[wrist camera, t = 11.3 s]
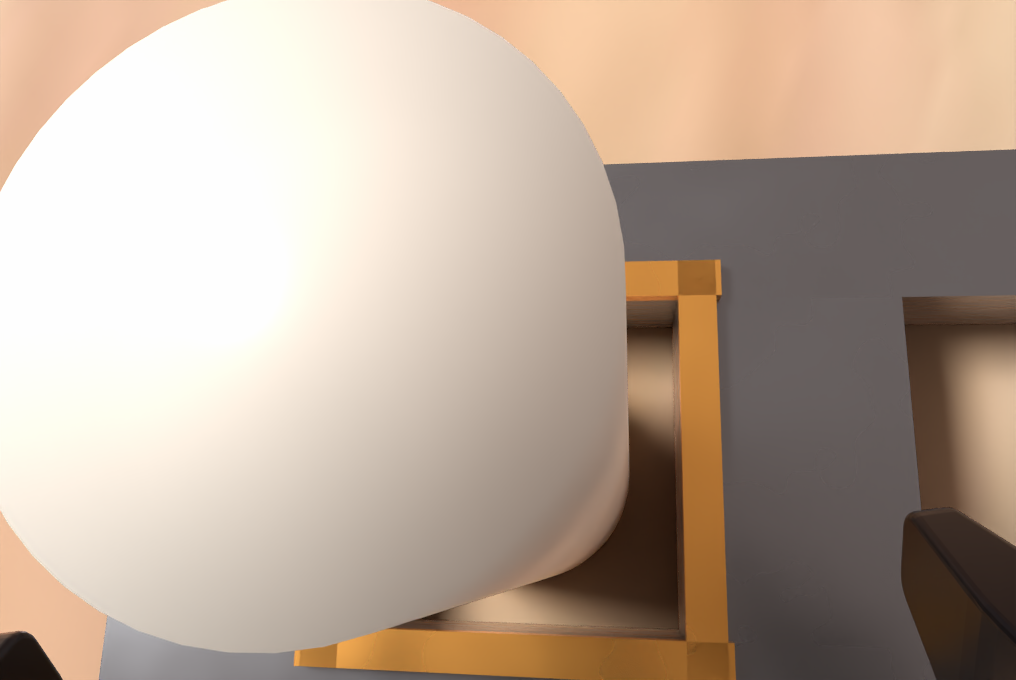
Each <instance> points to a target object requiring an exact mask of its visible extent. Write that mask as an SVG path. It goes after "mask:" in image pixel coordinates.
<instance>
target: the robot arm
mask: <svg viewBox="0 0 1016 680" xmlns="http://www.w3.org/2000/svg"><path fill="white" fill-rule="evenodd" d="M901 582H902V588H903V592H904V595H905V598H906V601H907V604H908V607H909V609H910V612H911V615H912V617H913V620H914V622H915V625H916V628H917V630H918V633H919V635H920V638H921V641H922V643H923V646H924V649H925V651H926V654H927V656H928V659H929V662H930V664H931V667H932V670H933V672H934V675H935V677H936V680H1016V547H1015V546H1014V545H1012V544H1011V543H1009V542H1007V541H1006V540H1004V539H1003V538H1001V537H1000V536H998V535H996V534H995V533H993V532H992V531H990V530H988V529H987V528H985V527H984V526H982V525H981V524H979V523H977V522H976V521H974V520H973V519H971V518H969V517H968V516H966V515H965V514H963V513H962V512H960V511H958V510H956V509H953V508H950V507H942V508H934V509H927V510H919V511H913V512H911V513H909V514H908V515H907V516H906V518H905V520H904V525H903V541H902V559H901ZM0 680H63V679H62V677H61V676H60V674H59V673H58V671H57V670H56V668H55V667H54V665H53V664H52V662H51V661H50V659H49V658H48V656H47V655H46V653H45V652H44V651H43V649H42V648H41V646H40V645H39V643H38V642H37V640H36V639H35V638H34V637H33V635H31V634H29V633H27V632H25V631H15V632H8V633H0Z"/></svg>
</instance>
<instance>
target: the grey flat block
mask: <svg viewBox="0 0 1016 680" xmlns="http://www.w3.org/2000/svg"><path fill="white" fill-rule="evenodd" d="M604 168H605V171H606V174H607V177H608V180H609V183H610V186H611V189H612V192H613V195H614V198H615V201H616V205H617V210H618V216H619V221H620V227H621V232H622V238H623V243H624V256H625V281H626V321H627V327H672V335H673V382H674V428H675V474H676V521H677V567H678V613H679V630H672V629H647V628H622V627H596V626H571V625H546V624H521V623H495V622H470V621H445V620H419V619H416V620H413V621H410V622H407V623H403V624H400V625H397V626H394V627H391V628H388V629H384V630H381V631H378V632H375V633H372V634H368V635H365V636H361V637H357V638H354V639H350V640H347V641H343V642H339V643H336V644H332V645H329V646H325V647H319V648H311V649H303V650H296V651H288V652H281V653H228V652H222V651H215V650H209V649H203V648H197V647H191V646H185V645H180V644H177V643H174V642H171V641H168V640H165V639H162V638H159V637H155V636H152V635H149V634H146V633H143V632H140V631H137V630H135V629H133V628H132V627H130V626H128V625H126V624H124V623H122V622H120V621H118V620H116V619H114V618H112V617H110V616H108V615H107V623H106V630H105V637H104V645H103V652H102V659H101V667H100V674H99V680H936V677H935V675H934V672H933V670H932V667H931V664H930V662H929V659H928V656H927V654H926V651H925V649H924V646H923V643H922V641H921V638H920V635H919V633H918V630H917V628H916V625H915V622H914V620H913V617H912V615H911V612H910V609H909V607H908V604H907V601H906V598H905V595H904V592H903V588H902V582H901V559H902V541H903V525H904V520H905V518H906V516H907V515H908V514H909V513H911V512H913V511H919V510H921V501H920V490H919V479H918V468H917V457H916V446H915V435H914V424H913V413H912V402H911V391H910V380H909V369H908V358H907V347H906V336H905V325H925V324H1016V150H989V151H961V152H934V153H907V154H880V155H853V156H825V157H798V158H771V159H744V160H716V161H689V162H662V163H635V164H607V165H604Z"/></svg>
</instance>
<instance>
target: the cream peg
mask: <svg viewBox="0 0 1016 680" xmlns="http://www.w3.org/2000/svg"><path fill="white" fill-rule="evenodd" d="M629 478H630V473H629V422H628V372H627V321H626V281H625V256H624V243H623V238H622V232H621V227H620V221H619V216H618V210H617V205H616V201H615V198H614V195H613V192H612V189H611V186H610V183H609V180H608V177H607V174H606V171H605V168H604V165H603V162H602V160H601V158H600V156H599V154H598V152H597V150H596V148H595V146H594V144H593V142H592V140H591V138H590V136H589V134H588V132H587V130H586V128H585V126H584V124H583V123H582V122H581V120H580V119H579V117H578V116H577V114H576V113H575V112H574V110H573V109H572V107H571V106H570V104H569V103H568V102H567V100H566V99H565V97H564V96H563V94H562V93H561V92H560V90H559V89H558V88H557V87H556V86H555V85H554V84H553V83H552V82H551V81H550V80H549V79H548V78H547V76H546V75H545V74H544V73H543V72H542V71H541V70H540V69H539V68H538V67H537V66H536V65H535V64H534V63H533V62H532V61H531V60H530V59H529V58H527V57H526V56H525V55H524V54H522V53H521V52H520V51H519V50H517V49H516V48H515V47H514V46H512V45H511V44H510V43H509V42H507V41H506V40H505V39H504V38H502V37H501V36H499V35H498V34H496V33H494V32H493V31H491V30H489V29H488V28H486V27H484V26H483V25H481V24H479V23H478V22H476V21H474V20H472V19H471V18H469V17H467V16H465V15H463V14H460V13H458V12H455V11H453V10H451V9H448V8H446V7H444V6H441V5H439V4H437V3H434V2H432V1H428V0H228V1H225V2H222V3H219V4H216V5H213V6H210V7H207V8H204V9H201V10H198V11H196V12H194V13H192V14H190V15H188V16H185V17H183V18H181V19H179V20H177V21H175V22H173V23H170V24H168V25H166V26H164V27H162V28H160V29H159V30H157V31H155V32H154V33H152V34H150V35H149V36H147V37H145V38H144V39H142V40H140V41H139V42H137V43H135V44H134V45H132V46H130V47H129V48H127V49H126V50H125V51H123V52H122V53H121V54H119V55H118V56H117V57H115V58H114V59H113V60H111V61H110V62H109V63H108V64H106V65H105V66H104V67H102V68H101V69H100V70H98V71H97V72H96V73H95V74H93V75H92V76H91V77H90V78H89V79H88V80H87V81H86V82H85V83H84V84H83V85H82V86H81V87H80V88H79V89H77V90H76V91H75V92H74V93H73V94H72V95H71V96H70V97H69V98H68V99H67V100H66V101H65V102H64V103H63V104H62V105H61V106H60V108H59V109H58V110H57V111H56V112H55V113H54V115H53V116H52V117H51V118H50V119H49V120H48V121H47V123H46V124H45V125H44V126H43V127H42V128H41V130H40V131H39V132H38V133H37V135H36V136H35V138H34V139H33V140H32V142H31V143H30V145H29V146H28V148H27V149H26V151H25V152H24V153H23V155H22V156H21V158H20V159H19V161H18V162H17V163H16V165H15V166H14V168H13V170H12V172H11V174H10V176H9V177H8V179H7V181H6V183H5V185H4V187H3V188H2V190H1V192H0V510H1V512H2V514H3V516H4V518H5V519H6V521H7V523H8V524H9V525H10V527H11V528H12V529H13V531H14V532H15V533H16V535H17V536H18V537H19V539H20V540H21V541H22V543H23V544H24V545H25V547H26V548H27V549H28V550H29V552H30V553H31V554H32V556H33V557H34V558H35V559H36V560H37V561H38V562H39V563H40V564H41V565H42V566H44V567H45V568H46V569H47V570H48V571H49V572H50V573H51V574H52V575H53V576H54V577H55V578H56V579H57V580H58V581H59V582H60V583H61V584H62V585H63V586H64V587H66V588H67V589H69V590H70V591H71V592H73V593H74V594H76V595H77V596H78V597H80V598H81V599H83V600H84V601H85V602H87V603H88V604H90V605H91V606H92V607H94V608H95V609H97V610H98V611H100V612H102V613H104V614H106V615H108V616H110V617H112V618H114V619H116V620H118V621H120V622H122V623H124V624H126V625H128V626H130V627H132V628H133V629H135V630H137V631H140V632H143V633H146V634H149V635H152V636H155V637H159V638H162V639H165V640H168V641H171V642H174V643H177V644H180V645H185V646H191V647H197V648H203V649H209V650H215V651H222V652H228V653H281V652H288V651H296V650H303V649H311V648H319V647H325V646H329V645H332V644H336V643H339V642H343V641H347V640H350V639H354V638H357V637H361V636H365V635H368V634H372V633H375V632H378V631H381V630H384V629H388V628H391V627H394V626H397V625H400V624H403V623H407V622H410V621H413V620H416V619H419V618H423V617H426V616H429V615H432V614H435V613H438V612H442V611H445V610H448V609H451V608H454V607H457V606H461V605H464V604H467V603H470V602H473V601H476V600H480V599H483V598H486V597H489V596H492V595H496V594H499V593H502V592H505V591H508V590H511V589H515V588H518V587H521V586H524V585H527V584H530V583H534V582H537V581H540V580H543V579H546V578H549V577H553V576H556V575H559V574H562V573H564V572H566V571H568V570H571V569H573V568H575V567H576V566H578V565H580V564H581V563H583V562H585V561H586V560H587V559H588V558H590V557H591V556H592V555H593V554H594V553H596V552H597V551H598V550H599V548H600V547H601V546H602V545H603V544H604V543H605V542H606V541H607V539H608V538H609V537H610V535H611V534H612V532H613V531H614V529H615V527H616V525H617V523H618V522H619V520H620V518H621V515H622V512H623V510H624V507H625V504H626V499H627V495H628V489H629Z"/></svg>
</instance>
